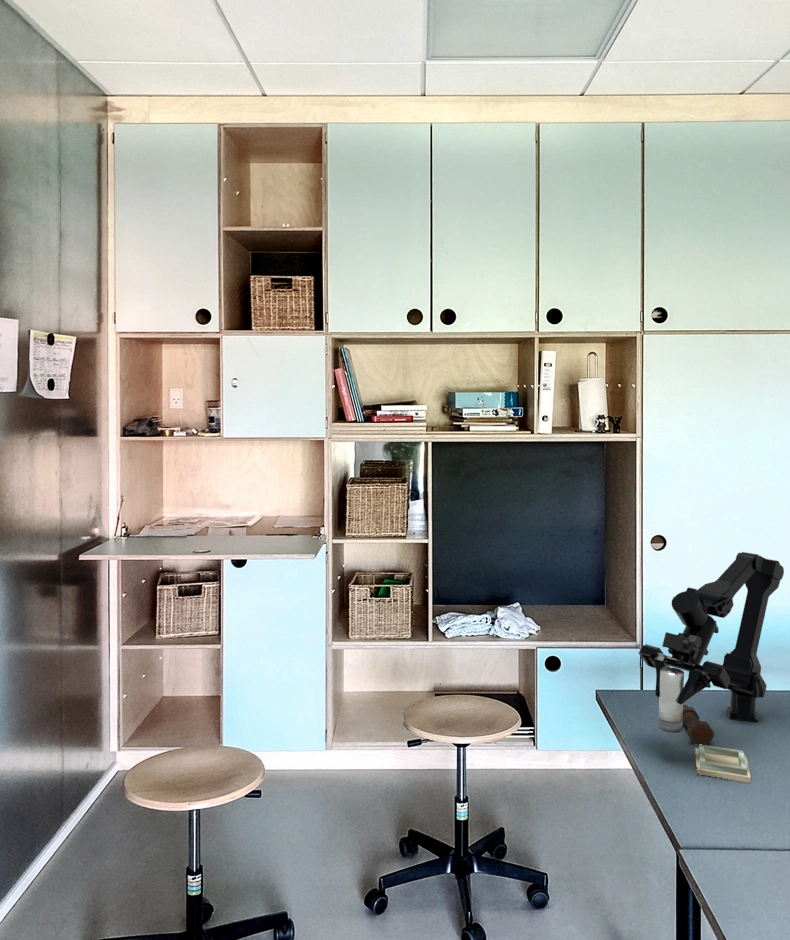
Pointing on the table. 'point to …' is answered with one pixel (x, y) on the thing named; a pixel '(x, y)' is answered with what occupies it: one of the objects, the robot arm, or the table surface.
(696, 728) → the bolt
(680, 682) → the grey cylindrical piece
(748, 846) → the table surface
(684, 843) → the table surface
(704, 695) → the table surface
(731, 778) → the tray
